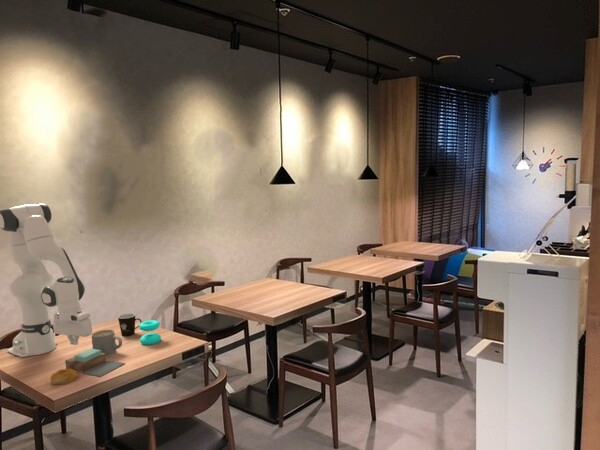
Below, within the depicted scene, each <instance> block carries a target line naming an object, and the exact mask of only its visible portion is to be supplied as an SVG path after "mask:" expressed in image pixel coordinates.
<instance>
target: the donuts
mask: <svg viewBox="0 0 600 450" xmlns="http://www.w3.org/2000/svg"><path fill="white" fill-rule="evenodd" d="M141 322H142V323H139V325H138V326H139V327H138V328H139V330H140V331H142V332H149V333H146V334H143V335H142V336H141V337H140V339H139V341H140V344H142V345H146V346H149V345H151V346H152V345H155V344H157V343H159V342H161V340H162V337H161V335H160V334H159V333H156V332H152V331H156V330H157V329H159V328H160V326H161V322H160V321H159V320H154V319H153V320H152V319H149V320H144V321H141Z"/></svg>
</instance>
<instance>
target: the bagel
mask: <svg viewBox="0 0 600 450" xmlns="http://www.w3.org/2000/svg"><path fill="white" fill-rule="evenodd" d="M77 377H78V373H77V371H75V370H73V369H66V368H65V369H59V370H57V371H56V372H54V373H52V374H51V376H50V383H51V385H52V384H53V385H59V386H60V385H67V384H71V383H72V382H74V381H75V380H76V379H77Z"/></svg>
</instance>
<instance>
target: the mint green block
mask: <svg viewBox="0 0 600 450" xmlns="http://www.w3.org/2000/svg"><path fill="white" fill-rule="evenodd" d="M99 355H101V350H97V349H93V348H89V349H87V350H85V351H83V352H80V353H78V354H75V355H74V356H73V357H74V358H75V361H81V362H86V361H88V360H90V359H93V358H95V357H97V356H99Z"/></svg>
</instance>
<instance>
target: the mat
mask: <svg viewBox="0 0 600 450" xmlns="http://www.w3.org/2000/svg"><path fill="white" fill-rule="evenodd" d="M125 364H126V363H125V362H121V361H114V360H109V359H107V360H106V362H104V363H102V364H99V365H97V366H95V367H93V368H91V369H89V370H87V371H85V372H82V375H89V376H93V377H97V378H98V377H99V378H101V377H103V376H105V375H107V374H108V373H111V372H113V371H114V370H117V369H118V368H120V367H122V366H124V365H125Z"/></svg>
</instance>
